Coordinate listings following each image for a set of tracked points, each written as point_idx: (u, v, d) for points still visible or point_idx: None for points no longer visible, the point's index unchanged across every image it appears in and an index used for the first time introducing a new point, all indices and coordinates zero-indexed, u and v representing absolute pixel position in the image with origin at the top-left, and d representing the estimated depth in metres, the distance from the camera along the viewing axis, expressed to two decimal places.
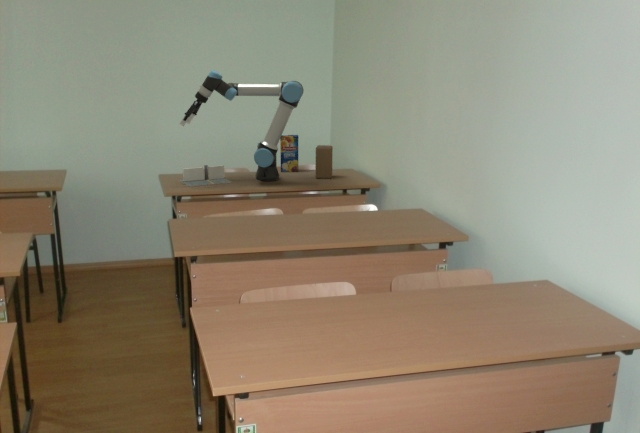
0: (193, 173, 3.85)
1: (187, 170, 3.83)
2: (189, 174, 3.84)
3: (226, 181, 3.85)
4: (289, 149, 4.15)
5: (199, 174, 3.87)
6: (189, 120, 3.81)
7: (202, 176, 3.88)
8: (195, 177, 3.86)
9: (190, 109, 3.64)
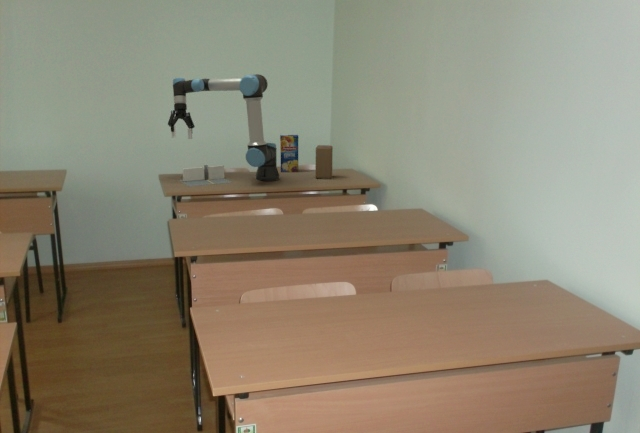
0: (193, 173, 3.85)
1: (187, 170, 3.83)
2: (189, 174, 3.84)
3: (226, 181, 3.85)
4: (289, 149, 4.15)
5: (199, 174, 3.87)
6: (190, 135, 3.90)
7: (202, 176, 3.88)
8: (195, 177, 3.86)
9: (170, 118, 3.78)
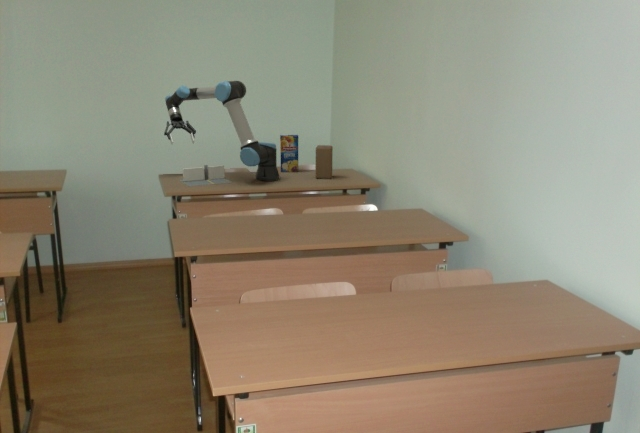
0: (193, 173, 3.85)
1: (187, 170, 3.83)
2: (189, 174, 3.84)
3: (226, 181, 3.85)
4: (289, 149, 4.15)
5: (199, 174, 3.87)
6: (192, 139, 3.97)
7: (202, 176, 3.88)
8: (195, 177, 3.86)
9: None
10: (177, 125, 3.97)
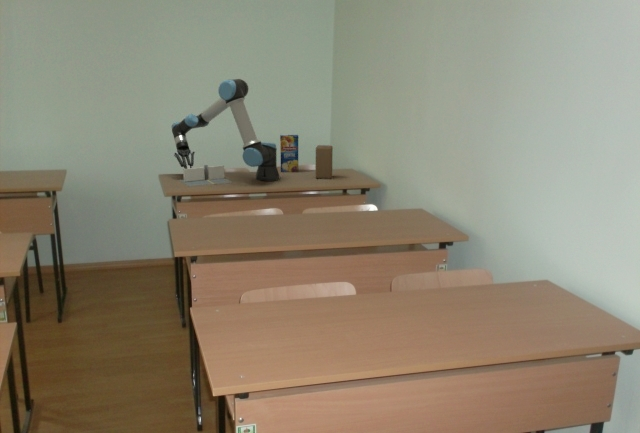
0: (193, 173, 3.84)
1: (188, 170, 3.82)
2: (190, 174, 3.83)
3: (226, 181, 3.85)
4: (289, 149, 4.15)
5: (199, 174, 3.86)
6: None
7: (202, 176, 3.88)
8: (195, 177, 3.85)
9: (179, 161, 3.88)
10: None
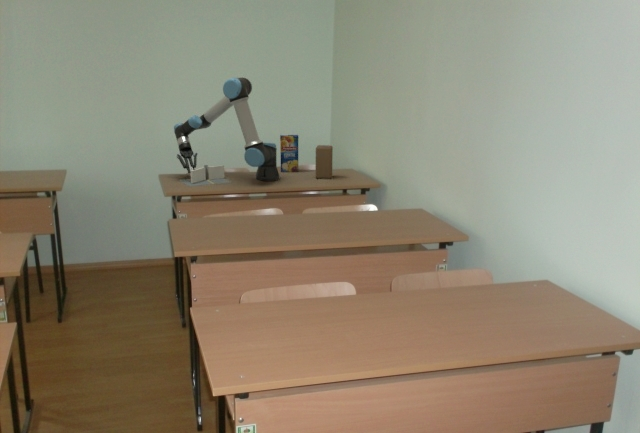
0: (198, 174, 3.81)
1: (194, 172, 3.78)
2: (196, 175, 3.79)
3: (226, 181, 3.85)
4: (289, 149, 4.15)
5: (202, 175, 3.85)
6: None
7: (204, 176, 3.87)
8: (200, 178, 3.83)
9: (181, 163, 3.84)
10: None
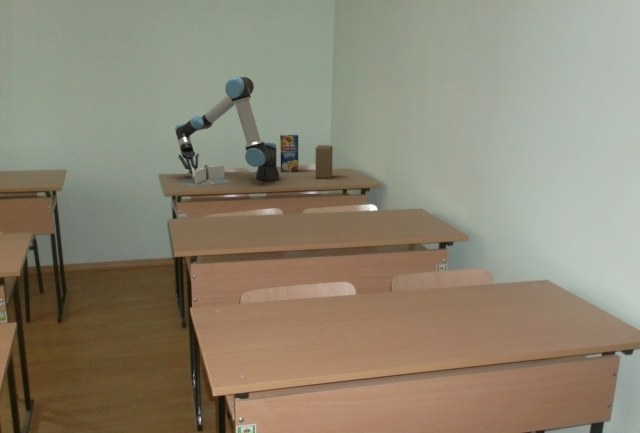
0: (201, 174, 3.81)
1: (198, 172, 3.77)
2: (199, 176, 3.79)
3: (226, 181, 3.85)
4: (289, 149, 4.15)
5: (203, 175, 3.85)
6: None
7: (205, 176, 3.87)
8: (202, 178, 3.83)
9: (183, 163, 3.81)
10: None
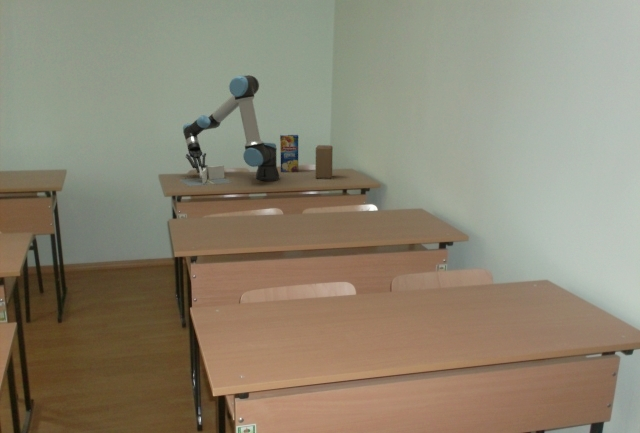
0: (205, 174, 3.81)
1: (204, 172, 3.77)
2: (205, 176, 3.79)
3: (226, 181, 3.85)
4: (289, 149, 4.15)
5: (206, 175, 3.85)
6: None
7: (206, 176, 3.87)
8: None
9: (190, 162, 3.83)
10: None
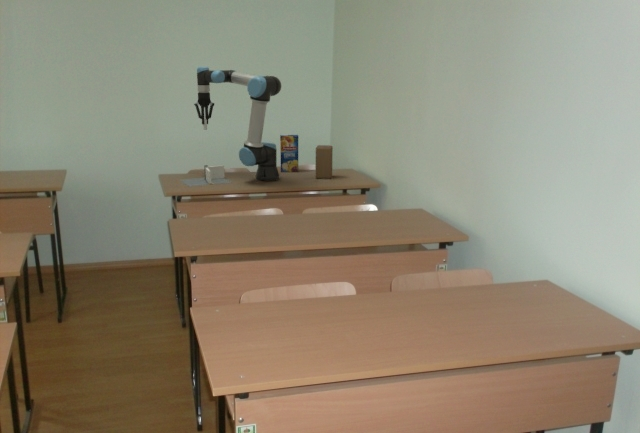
0: None
1: None
2: None
3: (226, 181, 3.85)
4: (289, 149, 4.15)
5: None
6: None
7: None
8: None
9: (197, 112, 3.96)
10: None
